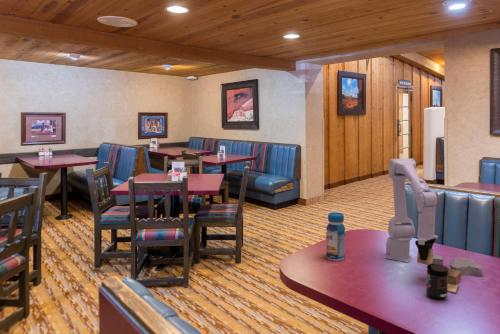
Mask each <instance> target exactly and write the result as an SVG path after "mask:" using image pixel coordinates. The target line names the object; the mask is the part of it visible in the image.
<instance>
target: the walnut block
mask: <svg viewBox="0 0 500 334" xmlns="http://www.w3.org/2000/svg"><path fill="white" fill-rule="evenodd" d="M448 269H449V274H448V284H452V285H457V286H458V284H459V282H460V281H461V280H462V275H461V271H458V270H454V269H453V268H449V267H448Z"/></svg>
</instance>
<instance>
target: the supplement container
mask: <svg viewBox="0 0 500 334" xmlns="http://www.w3.org/2000/svg"><path fill="white" fill-rule="evenodd" d="M448 268H449V267H448V266H445V265H444V264H443V265H439V264H429V265H426V286H425V287H426V288H425V294H426V296H427V297H428V298H430V299H432V300H434V301H443V300H446V299H447V297H448V292H447V291H448V274H449V269H450V268H449V269H448Z"/></svg>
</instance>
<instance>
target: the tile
mask: <svg viewBox="0 0 500 334" xmlns="http://www.w3.org/2000/svg"><path fill="white" fill-rule="evenodd" d="M459 289H460V286H459V285H458V284H457V285H452V284H448V291H447V293H451V294H456V295H457V294H458V291H459Z"/></svg>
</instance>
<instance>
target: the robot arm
mask: <svg viewBox="0 0 500 334" xmlns="http://www.w3.org/2000/svg"><path fill="white" fill-rule="evenodd" d="M416 169H417V163H416V160H415V158H413V157H411V158H391V159H389V162H388V169H387V170H388V175H389V176H388V177H389V178H390V179H391V180H392V192H393V207H394V216H393V217H392V218H391V219H389V221H388V227H387V233H388V237H387V239H386V241H385V259H388V260H393V261H398V262H404V263H409V262H410V261H411V259H412V257H413V256H412V255H410V252H411V250H410V247H411V245H410V244H411V241H412V240H413V238H414V236H415V234H416V236H417V239H418V240H415V241H414V242H415V245H416V247H417V252H418V251H419V256H420V260H425V261H426V260H427V257H428V253H429V249H433V246H434V243H435V242H436V240H437V239H438V237H439V236H438V235H435V229H436V228H435V227H436V208H437V207H438V206H439V204H440V196H439V193H438V192H437V191H434V190H433V189H432V190H431V188H430V187H429V186H428V184H427V182H426V180H424V178H420V176H419V174H418V172H417V170H416ZM406 179H407V180H408V181H409V182H410V186H409V187H410V188H411V191H412V192H413V194H414V195H415V197H416V198H415V203H416V209H417V211H418V215H417V216H418V218H417V219H418V221H417V233H416V228H415V225H414V221H413V219H412V218H410V217H408V211H407V197H406V196H407V195H406V182H405V181H406Z"/></svg>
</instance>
